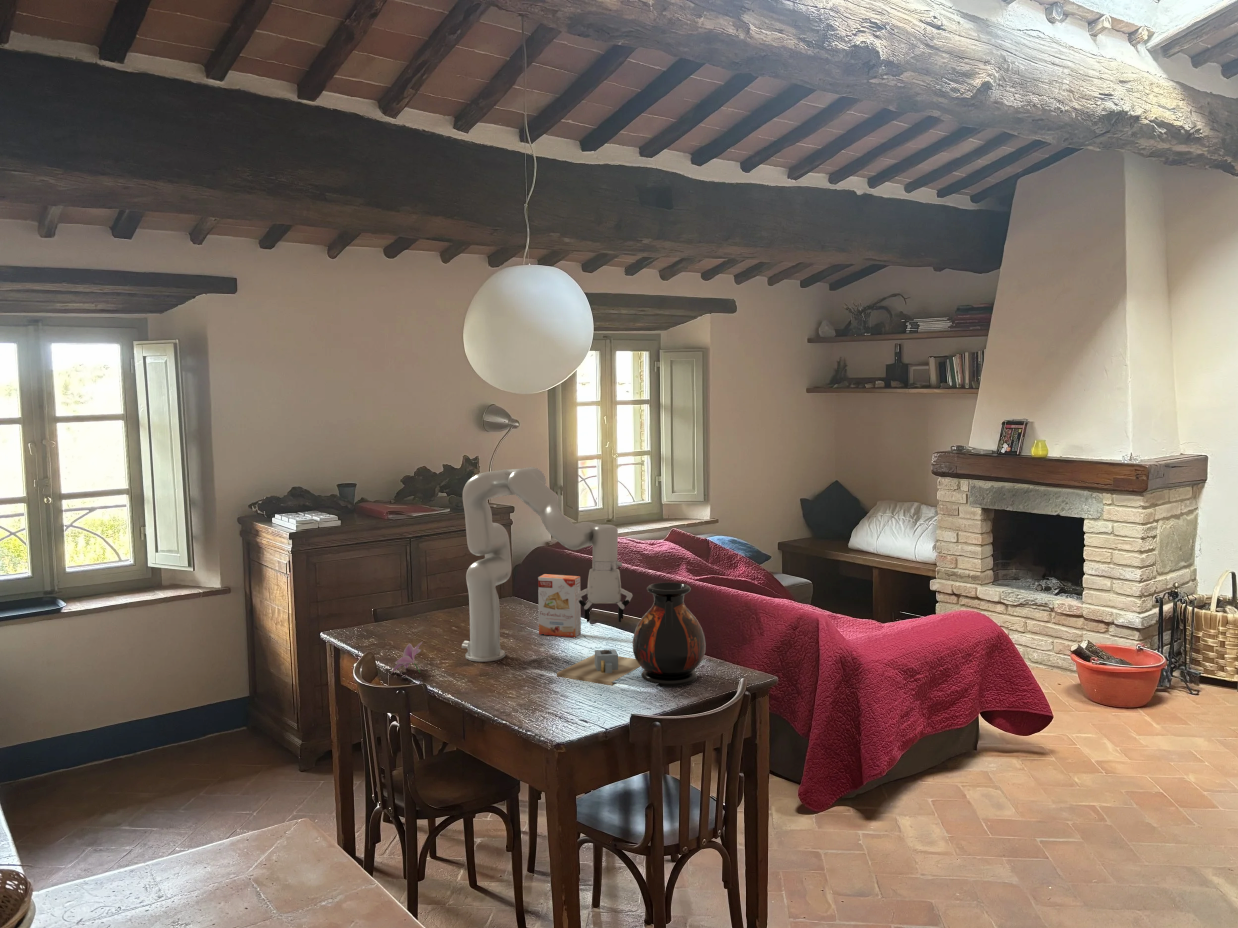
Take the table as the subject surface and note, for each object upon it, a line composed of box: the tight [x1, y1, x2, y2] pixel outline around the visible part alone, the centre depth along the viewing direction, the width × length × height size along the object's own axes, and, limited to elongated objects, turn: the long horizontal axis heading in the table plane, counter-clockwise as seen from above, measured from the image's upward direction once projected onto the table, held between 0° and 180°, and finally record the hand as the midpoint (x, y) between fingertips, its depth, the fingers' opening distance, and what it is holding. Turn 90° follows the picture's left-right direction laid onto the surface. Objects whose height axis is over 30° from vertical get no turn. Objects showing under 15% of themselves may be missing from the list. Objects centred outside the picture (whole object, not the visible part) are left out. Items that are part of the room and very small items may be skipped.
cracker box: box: [537, 573, 582, 638], centre depth 326 cm, size 14×6×21 cm, turn 72°
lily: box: [390, 641, 423, 674], centre depth 283 cm, size 12×12×10 cm
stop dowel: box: [601, 660, 605, 673], centre depth 278 cm, size 1×1×4 cm
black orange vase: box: [632, 582, 707, 688], centre depth 273 cm, size 22×22×28 cm
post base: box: [556, 649, 641, 687], centre depth 284 cm, size 19×24×6 cm
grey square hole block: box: [594, 648, 619, 673], centre depth 282 cm, size 9×6×4 cm
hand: (603, 621), depth 283 cm, fingers open, 9 cm apart
